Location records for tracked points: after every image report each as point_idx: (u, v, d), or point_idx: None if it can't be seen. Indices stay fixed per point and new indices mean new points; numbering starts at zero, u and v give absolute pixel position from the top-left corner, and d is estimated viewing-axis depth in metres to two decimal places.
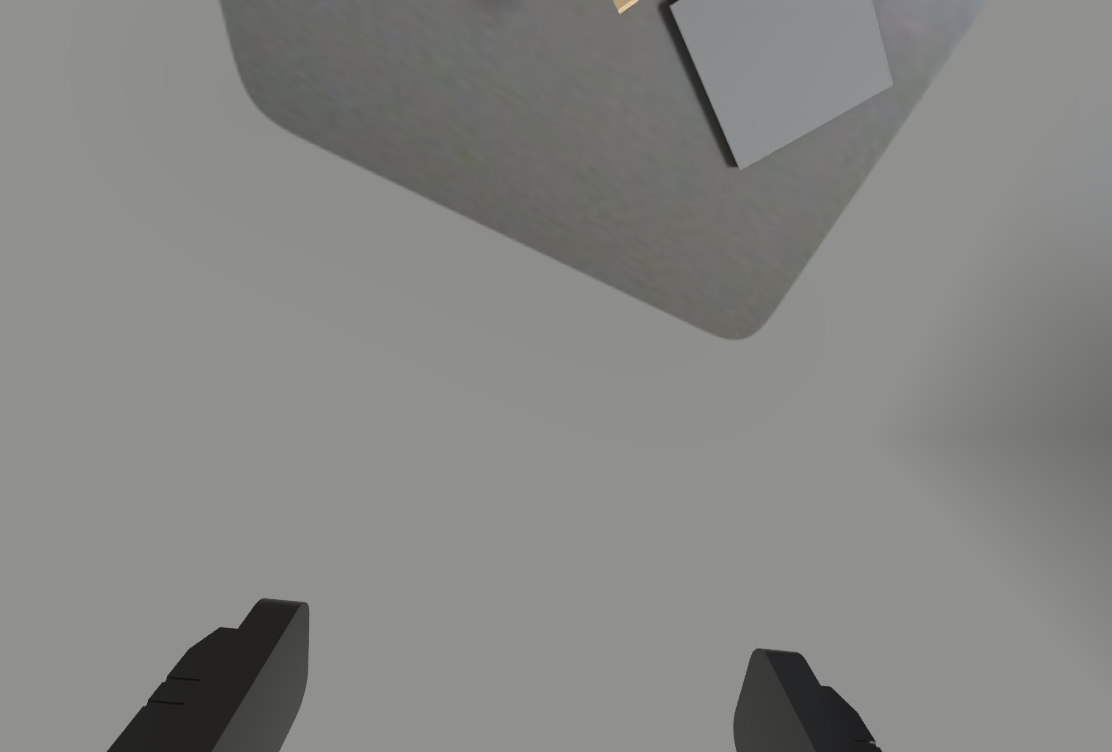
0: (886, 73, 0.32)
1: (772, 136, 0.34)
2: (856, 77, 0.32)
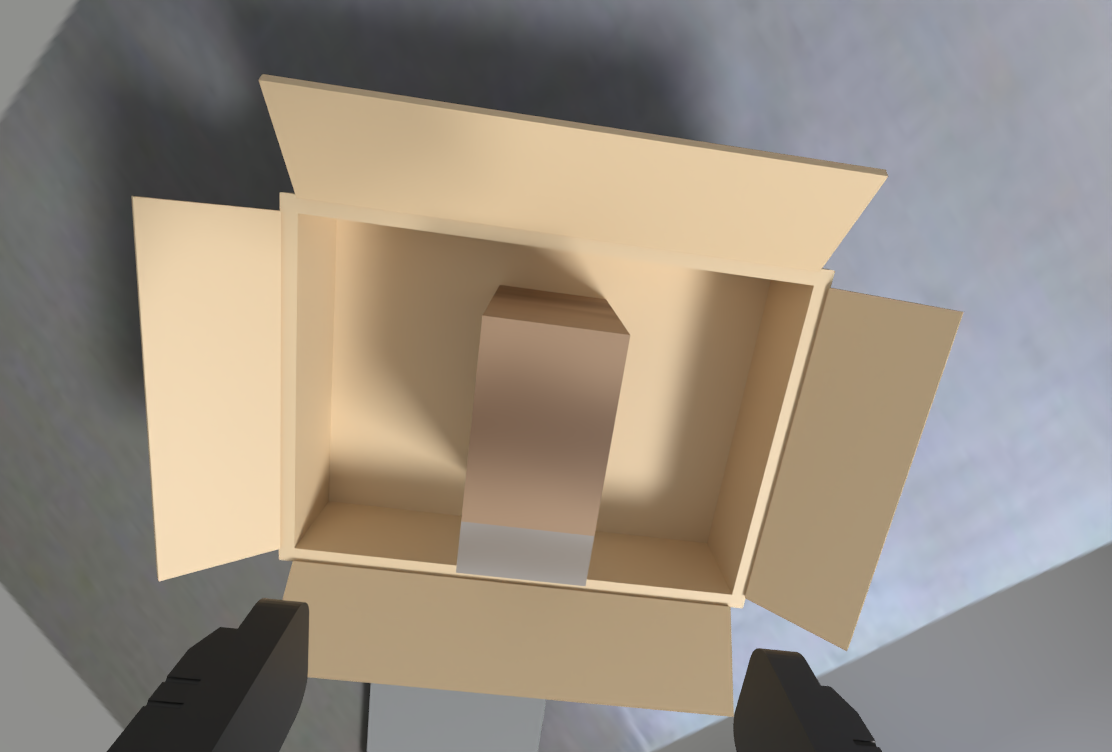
0: None
1: None
2: None
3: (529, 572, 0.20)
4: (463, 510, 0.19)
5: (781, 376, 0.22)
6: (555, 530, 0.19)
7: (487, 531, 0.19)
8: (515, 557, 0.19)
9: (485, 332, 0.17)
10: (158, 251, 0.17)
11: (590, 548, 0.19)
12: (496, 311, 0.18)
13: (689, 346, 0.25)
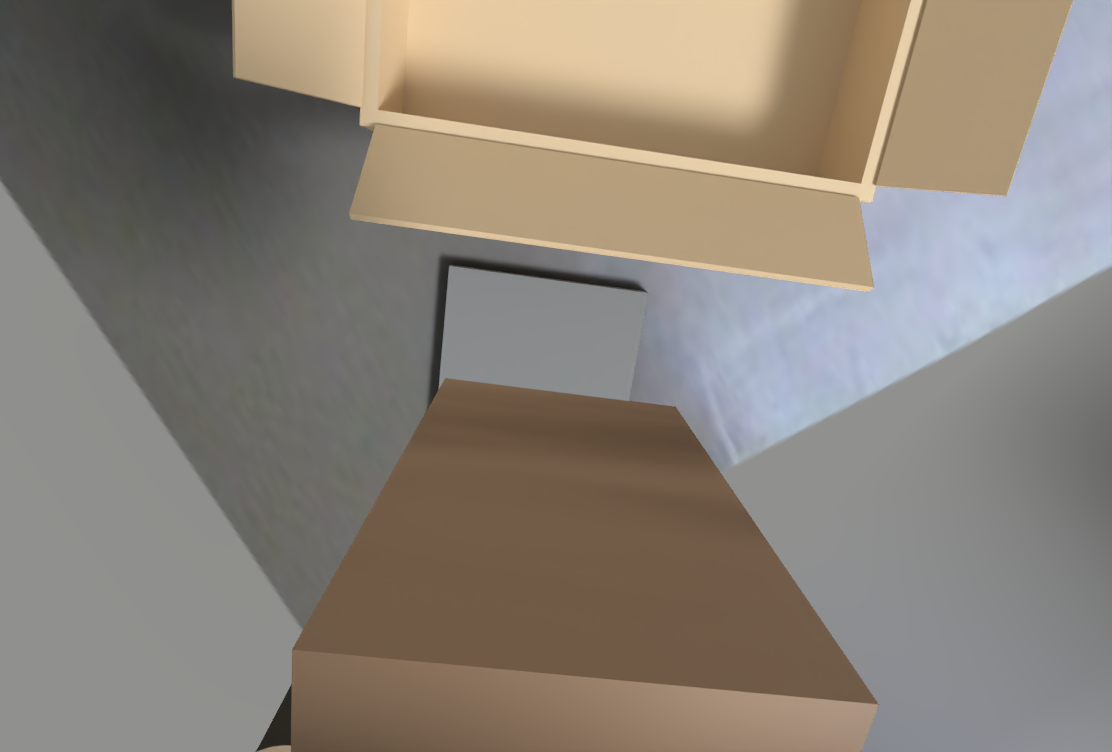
0: None
1: None
2: None
3: None
4: None
5: None
6: None
7: None
8: None
9: (310, 704, 0.04)
10: None
11: None
12: (376, 573, 0.05)
13: None
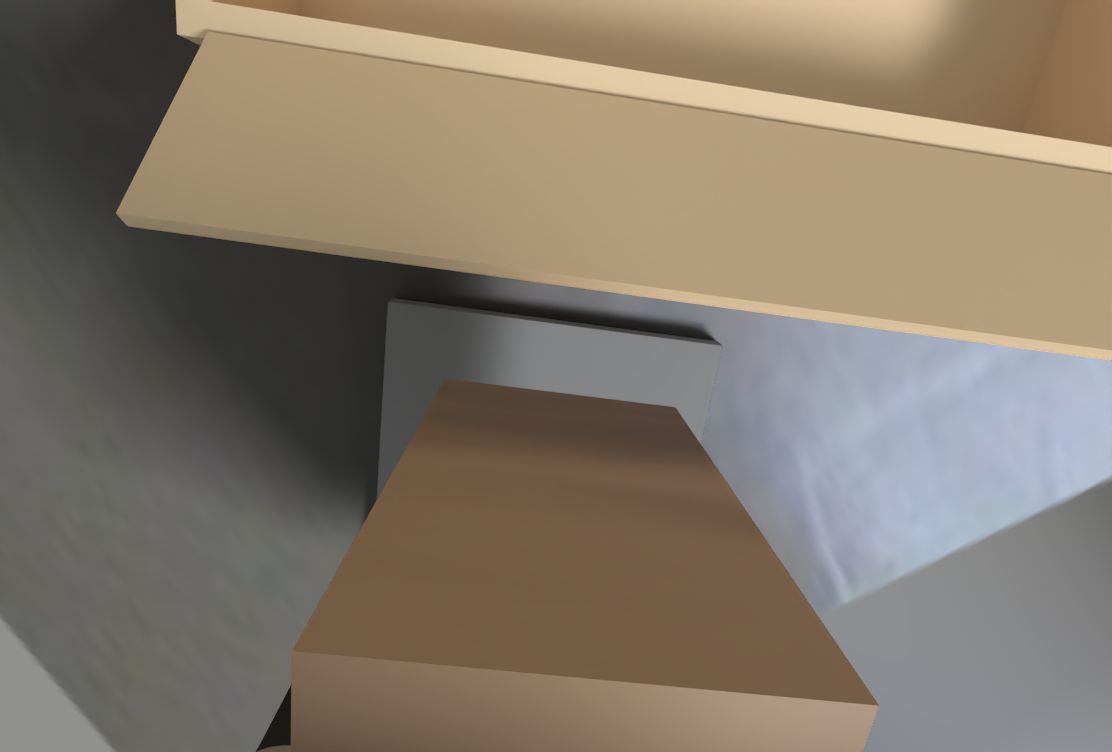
0: None
1: None
2: None
3: None
4: None
5: None
6: None
7: None
8: None
9: (310, 705, 0.04)
10: None
11: None
12: (376, 573, 0.05)
13: None
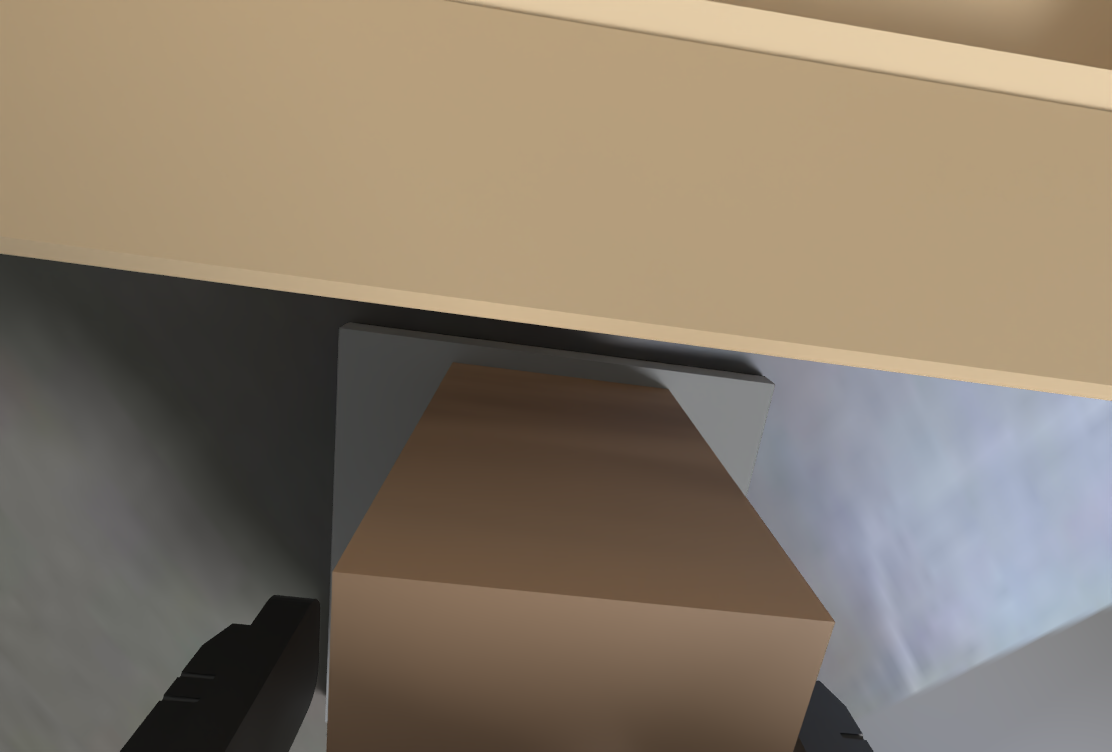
0: None
1: None
2: None
3: None
4: None
5: None
6: None
7: None
8: None
9: (347, 621, 0.05)
10: None
11: None
12: (399, 517, 0.06)
13: None
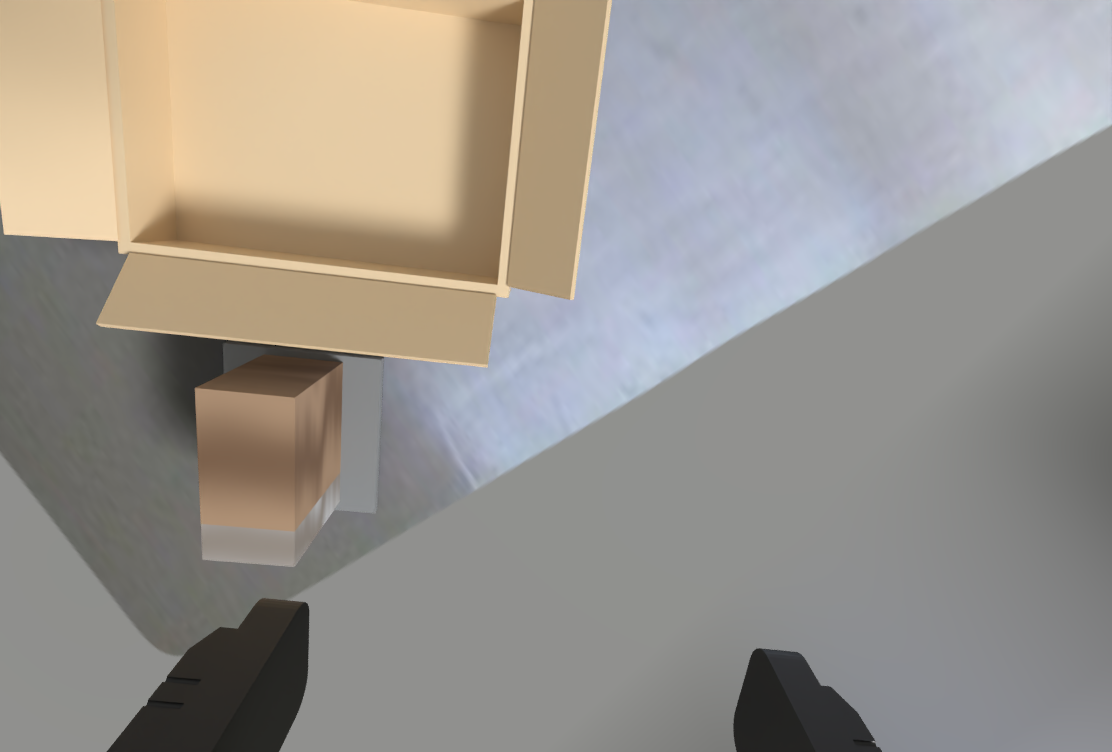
0: (372, 501, 0.36)
1: None
2: (348, 489, 0.35)
3: (254, 558, 0.29)
4: (201, 516, 0.28)
5: None
6: (266, 528, 0.28)
7: (220, 530, 0.28)
8: (242, 548, 0.28)
9: (198, 398, 0.26)
10: None
11: (293, 540, 0.28)
12: (214, 383, 0.27)
13: (465, 93, 0.30)
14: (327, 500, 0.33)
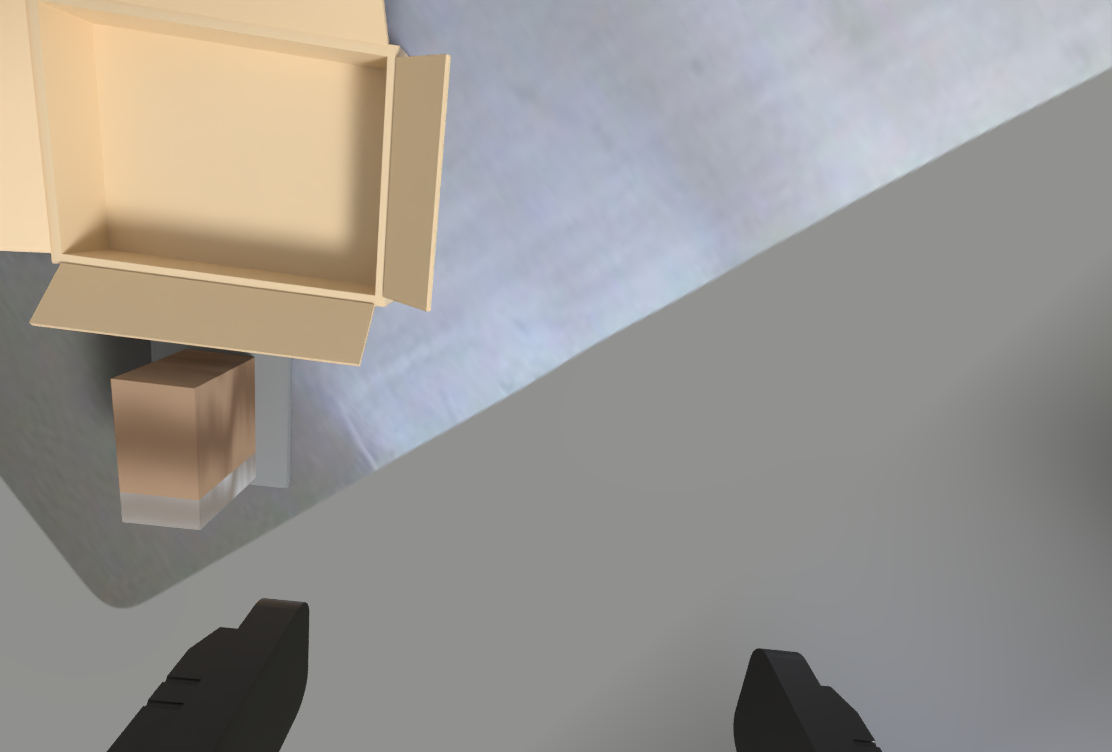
0: (284, 478, 0.41)
1: None
2: (263, 467, 0.41)
3: (165, 522, 0.34)
4: (120, 485, 0.33)
5: None
6: (175, 497, 0.34)
7: (136, 498, 0.34)
8: (155, 513, 0.34)
9: (114, 387, 0.32)
10: None
11: (198, 507, 0.34)
12: (129, 374, 0.33)
13: (353, 128, 0.35)
14: (239, 475, 0.38)
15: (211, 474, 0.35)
